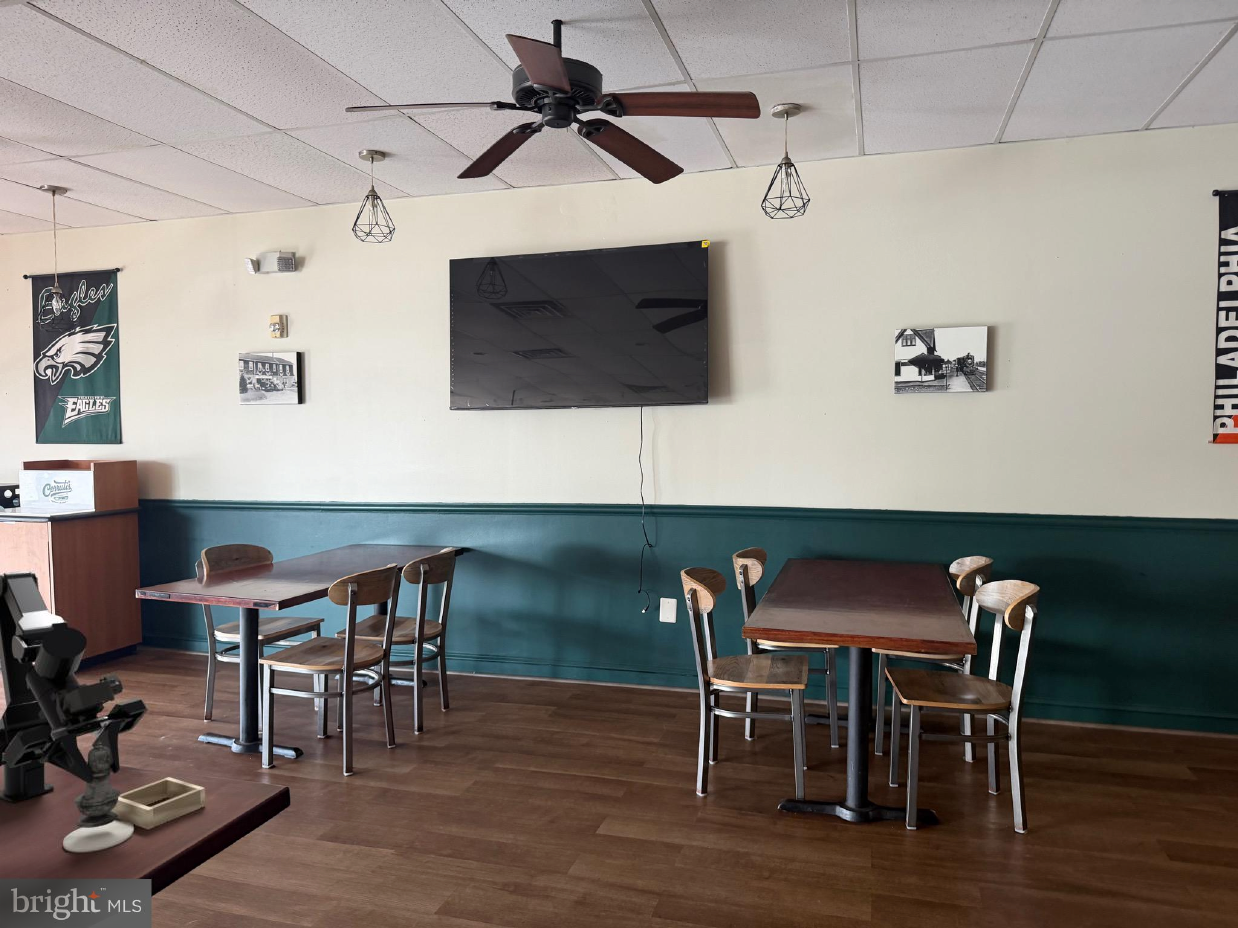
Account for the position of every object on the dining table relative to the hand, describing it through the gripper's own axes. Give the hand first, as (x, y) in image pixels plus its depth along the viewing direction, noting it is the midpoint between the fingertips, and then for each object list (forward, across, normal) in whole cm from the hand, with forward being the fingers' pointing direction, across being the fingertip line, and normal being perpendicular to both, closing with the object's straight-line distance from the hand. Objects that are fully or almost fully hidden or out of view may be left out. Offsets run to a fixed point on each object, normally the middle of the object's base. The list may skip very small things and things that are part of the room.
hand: (104, 776), depth 123 cm
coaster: (+6, 0, +8) cm, 10 cm away
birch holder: (+6, +10, +8) cm, 14 cm away
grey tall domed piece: (+4, 0, +6) cm, 7 cm away
